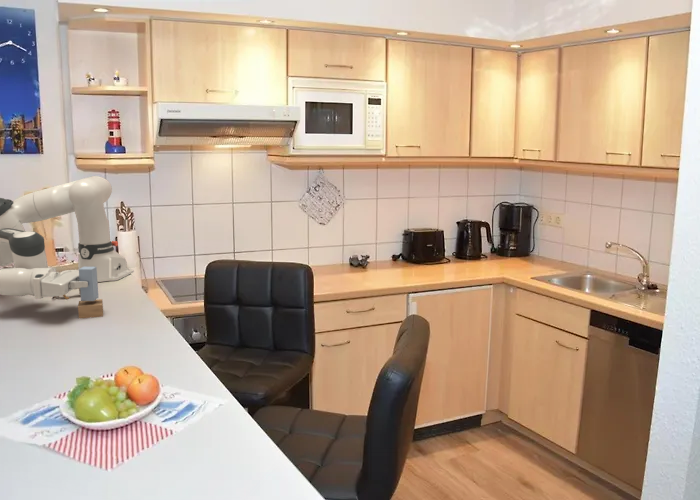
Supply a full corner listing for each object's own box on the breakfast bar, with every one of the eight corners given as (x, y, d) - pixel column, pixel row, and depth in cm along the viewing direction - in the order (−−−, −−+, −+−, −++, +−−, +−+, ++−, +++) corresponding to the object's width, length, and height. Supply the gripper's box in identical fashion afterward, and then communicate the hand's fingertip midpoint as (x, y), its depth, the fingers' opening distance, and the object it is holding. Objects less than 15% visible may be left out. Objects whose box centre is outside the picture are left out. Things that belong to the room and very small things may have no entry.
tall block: (85, 297, 208) (83, 266, 206) (98, 297, 208) (96, 266, 206) (81, 300, 204) (78, 269, 202) (94, 300, 204) (91, 269, 202)
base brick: (79, 313, 209) (78, 301, 208) (103, 311, 211) (102, 299, 211) (78, 319, 203) (77, 306, 202) (103, 317, 205) (102, 304, 204)
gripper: (60, 283, 215) (103, 283, 216) (33, 300, 195) (80, 300, 196) (59, 264, 214) (102, 264, 214) (31, 279, 194) (78, 279, 194)
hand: (91, 281), depth 205 cm, fingers closed on tall block, 4 cm apart
